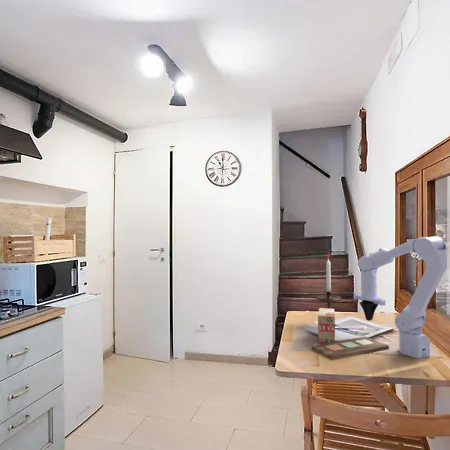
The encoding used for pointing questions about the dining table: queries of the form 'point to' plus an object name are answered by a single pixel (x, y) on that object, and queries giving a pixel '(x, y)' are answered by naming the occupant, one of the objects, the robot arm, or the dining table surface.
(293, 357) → the dining table surface
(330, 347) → the terracotta tile
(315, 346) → the tap panel
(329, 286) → the candlestick
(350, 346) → the sage tile
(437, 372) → the dining table surface
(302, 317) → the dining table surface
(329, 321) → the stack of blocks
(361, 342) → the cream tile
